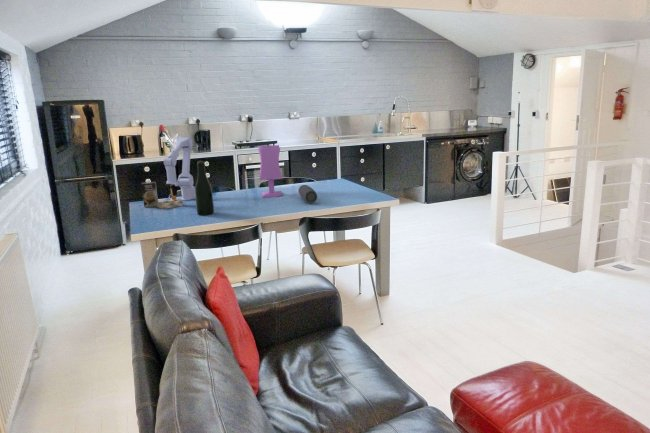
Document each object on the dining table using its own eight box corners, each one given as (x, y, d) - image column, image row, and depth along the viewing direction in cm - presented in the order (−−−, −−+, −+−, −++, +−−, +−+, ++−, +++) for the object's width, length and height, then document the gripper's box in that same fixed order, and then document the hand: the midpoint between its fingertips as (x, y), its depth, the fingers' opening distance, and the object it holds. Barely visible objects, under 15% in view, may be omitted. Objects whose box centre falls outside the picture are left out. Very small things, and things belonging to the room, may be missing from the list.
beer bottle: (197, 216, 288) (191, 162, 279) (197, 212, 297) (191, 160, 289) (214, 214, 290) (209, 161, 282) (214, 211, 300) (209, 159, 291)
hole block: (176, 203, 326) (176, 198, 325) (183, 205, 319) (182, 200, 318) (157, 206, 317) (156, 202, 317) (163, 209, 310) (162, 204, 309)
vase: (283, 196, 335) (280, 147, 326) (261, 198, 333) (257, 148, 324) (281, 192, 350) (279, 145, 341) (260, 193, 348) (257, 146, 339)
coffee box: (144, 207, 317) (140, 183, 312) (144, 205, 323) (141, 182, 318) (158, 206, 319) (155, 182, 315) (158, 204, 325) (155, 181, 321)
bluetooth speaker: (297, 198, 328) (297, 184, 325) (310, 197, 330) (310, 183, 327) (304, 205, 306) (303, 190, 304) (318, 204, 308) (317, 189, 306)
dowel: (175, 198, 321) (173, 184, 319) (177, 199, 319) (175, 184, 317) (171, 199, 319) (169, 185, 317) (173, 200, 317) (171, 185, 315)
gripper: (161, 175, 318) (163, 194, 321) (170, 177, 307) (172, 197, 311) (171, 173, 322) (173, 193, 326) (180, 175, 312) (182, 195, 315)
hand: (173, 195), depth 319 cm, fingers closed on dowel, 3 cm apart
